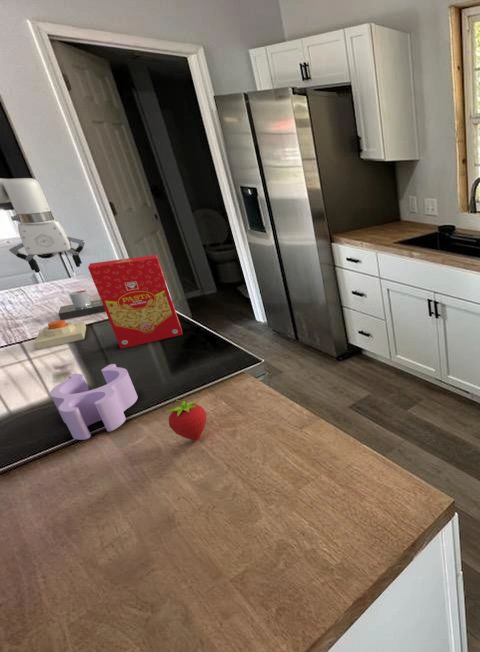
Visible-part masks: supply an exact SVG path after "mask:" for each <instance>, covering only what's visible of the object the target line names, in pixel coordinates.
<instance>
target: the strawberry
mask: <svg viewBox="0 0 480 652" xmlns="http://www.w3.org/2000/svg"><path fill="white" fill-rule="evenodd" d="M176 401H177V402H181V404H180V406H176V407H171V409H168V410H165V411H164V413H170V415H169V416H168V418H167V419H168V426H169V428H170V429H171V430H172V431H173V432H174V433H175V434H176V435H178V436H181V437H182V438H185V439H188V440H191V441H193V442H197V441H199V440H200V438H201V436H202V434H203V432H204V430H205V427H206V424H207V412H206V410H205V409H204V407H203V406H201V405H199V404H196V403H198V402H199V400H196V401H195V400H194V401H191V402H187V401H186V400H184V401H183V400H178V399H176Z"/></svg>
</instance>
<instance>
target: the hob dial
mask: <svg viewBox="0 0 480 652" xmlns="http://www.w3.org/2000/svg"><path fill="white" fill-rule="evenodd" d="M68 296H69V298H70V300H71V304H73V305H74V307H75V308H81V307H86V306H89V305H91V302H90V301H91V299H90V297H89V295H88V292H87V290H86V289H83V290H77V291H72V292H69V293H68Z"/></svg>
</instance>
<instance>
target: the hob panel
mask: <svg viewBox="0 0 480 652" xmlns="http://www.w3.org/2000/svg"><path fill="white" fill-rule="evenodd" d="M90 302H91V305H89V306H86V307H81V308H75V307H74V305H73V303H71V304H67V305H62V306H60V308H59V310H58V313H57V315H58V317H59V320H64V321H65V320H70V319H75V318H80V317H85V316H90V315H96V314H100V313H106V311H105V308H104V306H103V304H102V301H101V299H95V300H90Z"/></svg>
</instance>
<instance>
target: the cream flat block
mask: <svg viewBox="0 0 480 652" xmlns="http://www.w3.org/2000/svg"><path fill="white" fill-rule="evenodd" d="M65 323H66V326H64V327H61V328H57V329H50V328H49V326H48V325H47V326H45V327H44V328H42V329H40V330H39V331H38V333H37V335H36V338H35V340H34V346H35V349H36V350H42V349H46V348H51V347H55V346H60V345H64V344H68V343H69V344H70V343H75V342H78V341H83V340H85V336H86V331H87V326H86V324H85V321H80V322H72V321H65Z"/></svg>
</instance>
